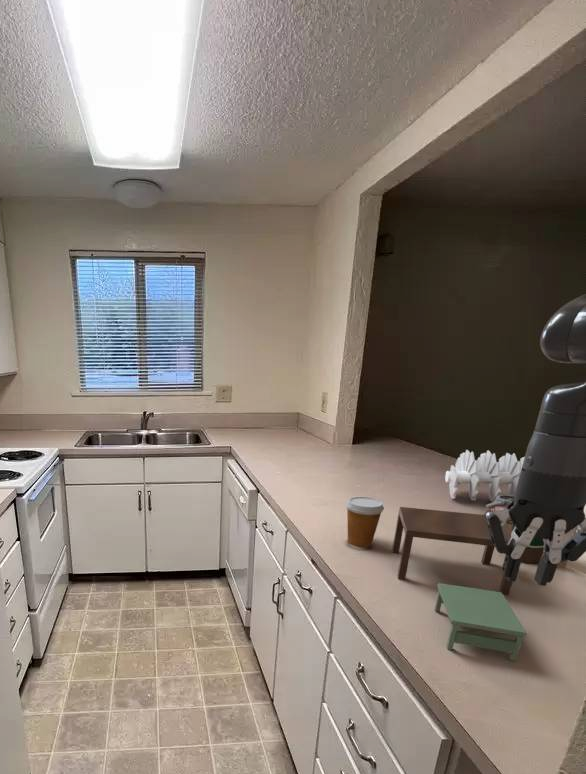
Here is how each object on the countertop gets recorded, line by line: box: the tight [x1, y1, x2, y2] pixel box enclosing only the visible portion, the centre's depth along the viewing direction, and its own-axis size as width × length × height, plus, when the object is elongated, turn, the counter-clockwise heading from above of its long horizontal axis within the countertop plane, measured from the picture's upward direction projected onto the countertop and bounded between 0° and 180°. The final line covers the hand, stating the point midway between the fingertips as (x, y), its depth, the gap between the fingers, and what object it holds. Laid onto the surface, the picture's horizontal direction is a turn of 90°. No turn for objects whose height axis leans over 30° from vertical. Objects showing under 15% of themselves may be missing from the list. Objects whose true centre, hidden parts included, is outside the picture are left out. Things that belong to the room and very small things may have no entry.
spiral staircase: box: [444, 449, 525, 503], centre depth 148 cm, size 18×18×25 cm
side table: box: [391, 506, 513, 596], centre depth 103 cm, size 22×16×12 cm
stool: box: [434, 582, 528, 662], centre depth 81 cm, size 11×14×6 cm
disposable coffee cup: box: [345, 496, 385, 548], centre depth 119 cm, size 10×10×12 cm
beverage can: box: [485, 494, 514, 529], centre depth 120 cm, size 9×8×12 cm
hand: (524, 580), depth 63 cm, fingers open, 3 cm apart
